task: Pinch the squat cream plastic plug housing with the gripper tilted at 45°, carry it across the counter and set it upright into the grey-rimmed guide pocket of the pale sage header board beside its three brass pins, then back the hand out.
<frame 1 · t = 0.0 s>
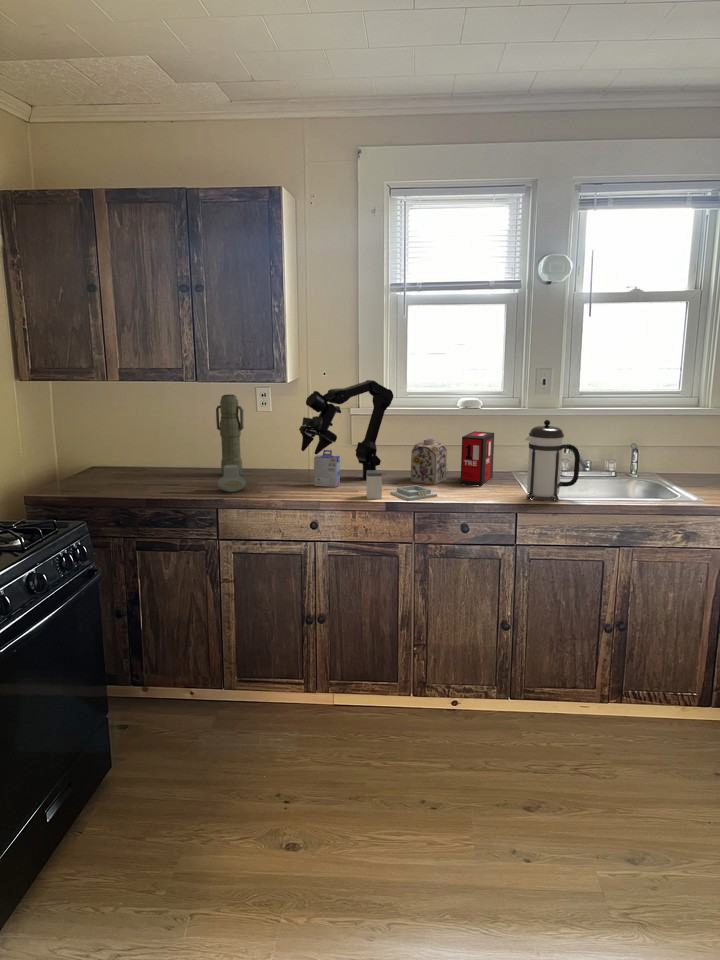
hand: (308, 452, 279), 15 cm above the worktop, tool tilted 35°, fingers open, 9 cm apart
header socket: (413, 495, 272), on the worktop
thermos: (232, 475, 308), on the worktop
air freshener: (232, 491, 279), on the worktop
plug housing: (373, 497, 269), on the worktop
cleaning product box: (476, 482, 296), on the worktop
coffee press: (546, 498, 269), on the worktop
ink cartridge box: (327, 485, 288), on the worktop
decorative jar: (428, 481, 296), on the worktop
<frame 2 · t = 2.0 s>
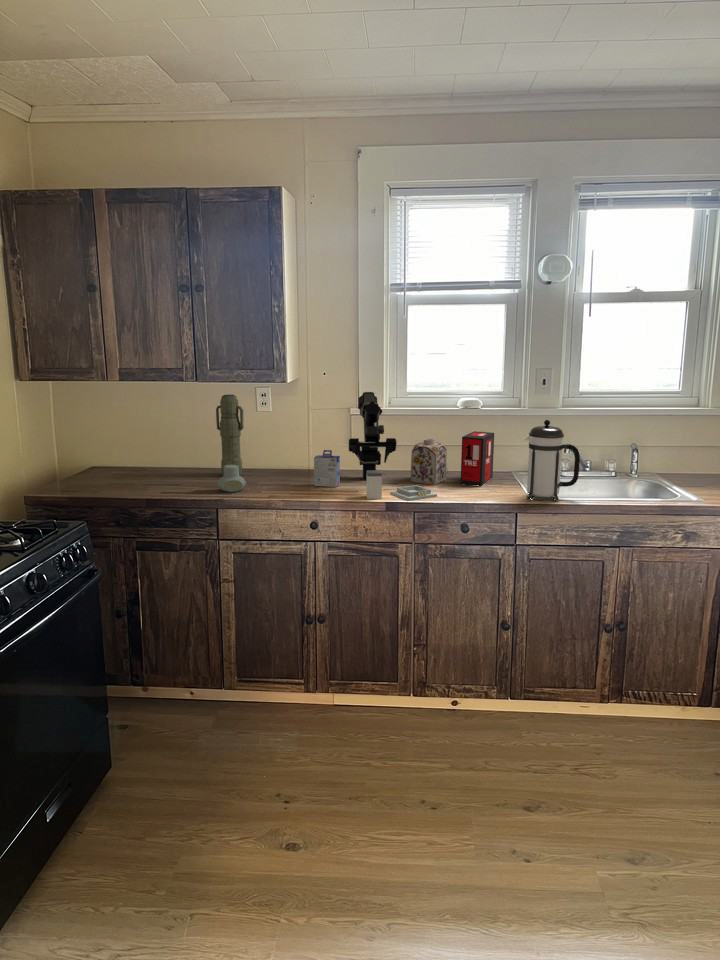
hand: (373, 462, 272), 12 cm above the worktop, tool tilted 45°, fingers open, 9 cm apart
nothing on the worktop moved.
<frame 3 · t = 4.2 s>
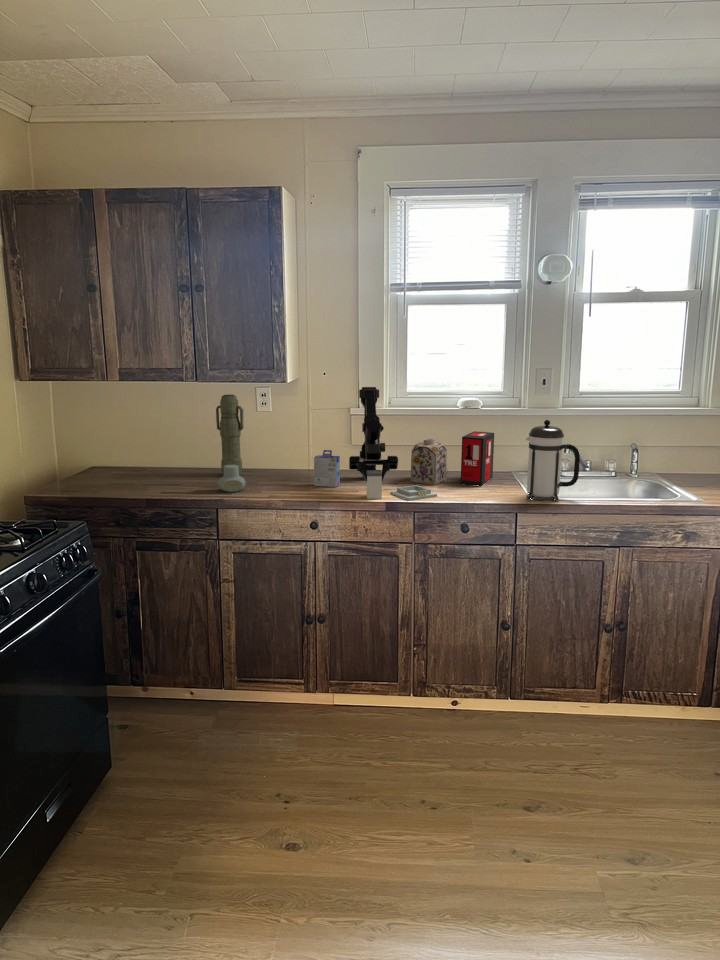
hand: (374, 481, 266), 7 cm above the worktop, tool tilted 45°, fingers closed on plug housing, 5 cm apart
plug housing: (373, 497, 269), on the worktop, touching gripper
everything else where it was.
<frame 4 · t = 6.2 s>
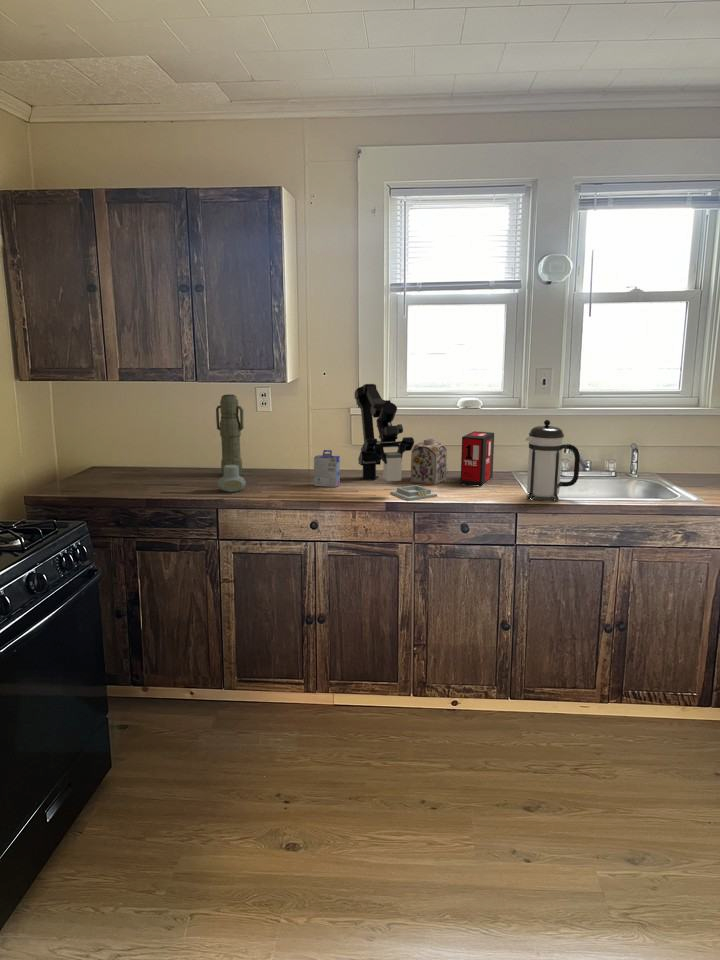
hand: (393, 462, 265), 14 cm above the worktop, tool tilted 45°, fingers closed on plug housing, 5 cm apart
plug housing: (392, 479, 268), point 7 cm above the worktop, touching gripper
everything else where it was.
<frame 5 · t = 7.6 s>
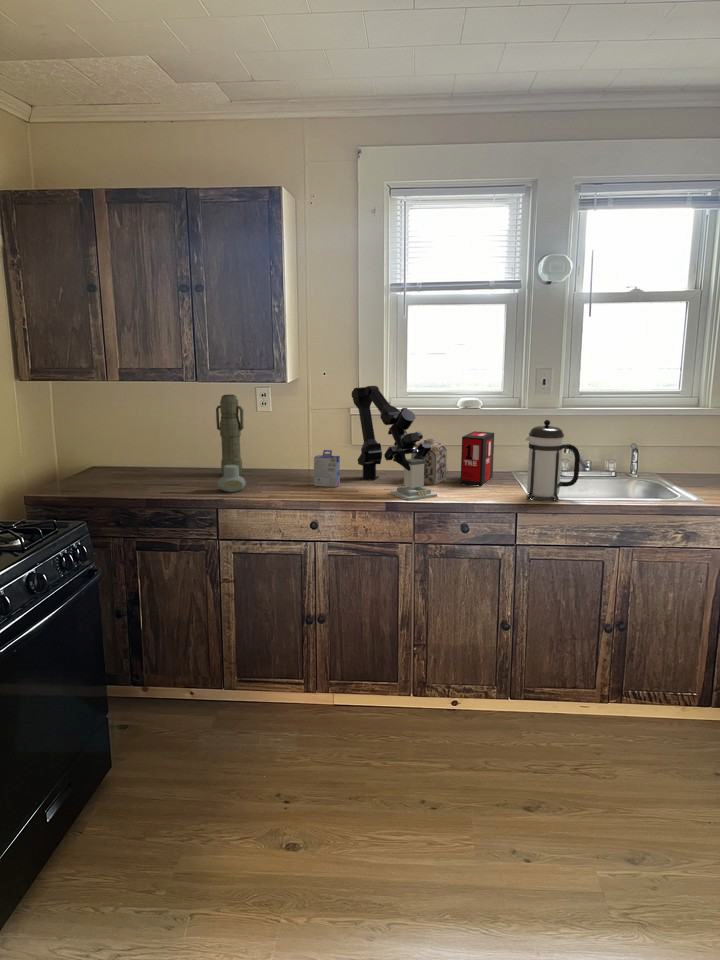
hand: (416, 469, 269), 10 cm above the worktop, tool tilted 45°, fingers closed on plug housing, 5 cm apart
plug housing: (413, 485, 271), point 4 cm above the worktop, touching gripper
everything else where it was.
when the fingers open (8 cm above the worktop, at t = 8.4 s): plug housing stays where it is, resting on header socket.
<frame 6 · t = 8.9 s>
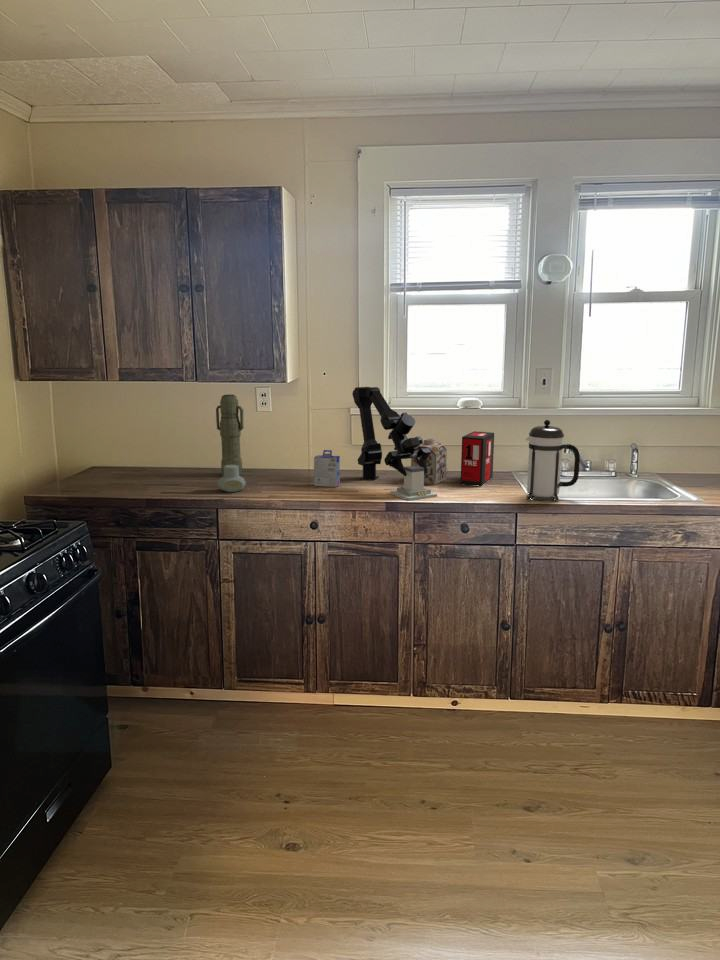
hand: (416, 474, 269), 9 cm above the worktop, tool tilted 45°, fingers open, 9 cm apart
plug housing: (413, 492, 272), point 1 cm above the worktop, touching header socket
everything else where it was.
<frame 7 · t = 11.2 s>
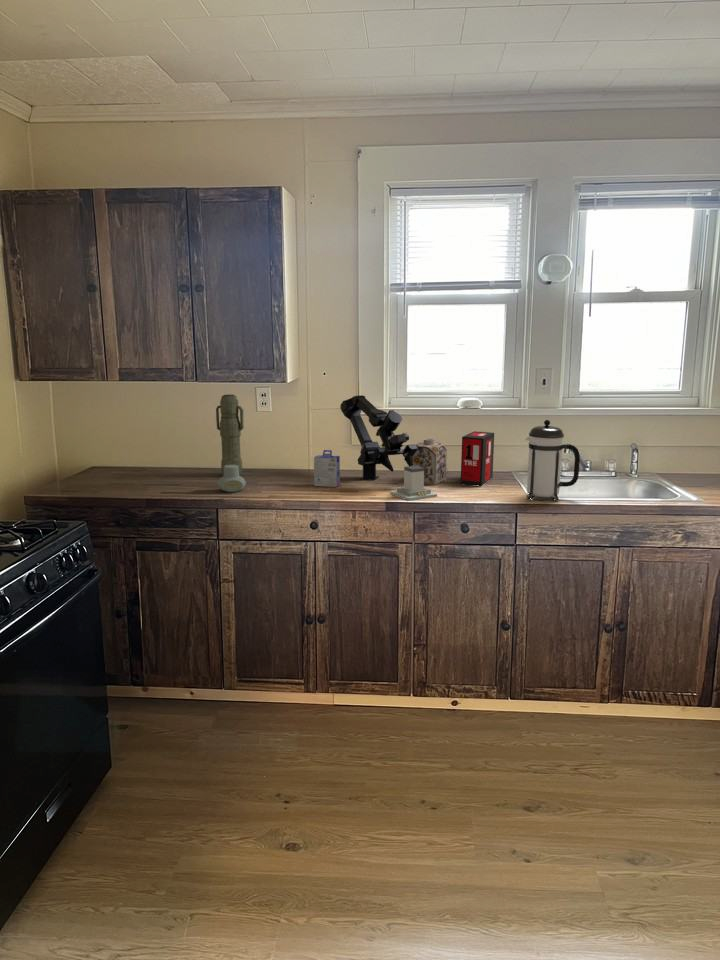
hand: (402, 469, 277), 9 cm above the worktop, tool tilted 45°, fingers open, 9 cm apart
nothing on the worktop moved.
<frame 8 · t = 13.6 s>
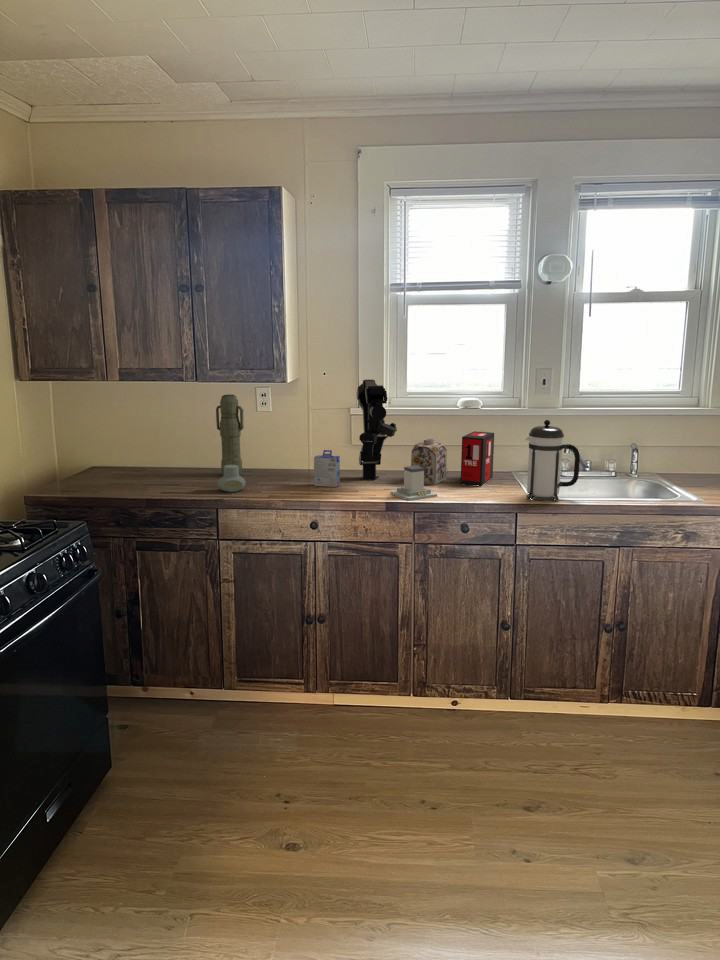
hand: (374, 455, 283), 13 cm above the worktop, tool pointing down, fingers open, 9 cm apart
nothing on the worktop moved.
at the end: plug housing 0.0 cm off-centre on the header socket, point 1.0 cm above the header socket's base; plug housing tilted 0°; the gripper is holding nothing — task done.
